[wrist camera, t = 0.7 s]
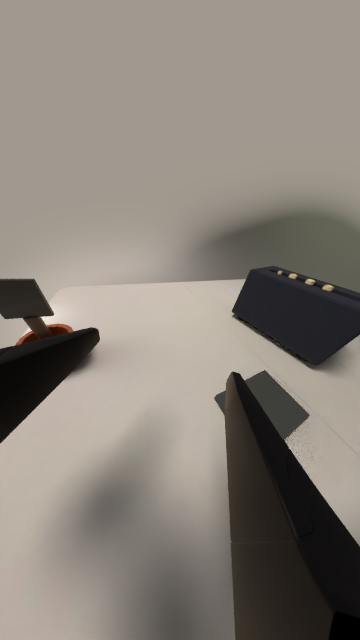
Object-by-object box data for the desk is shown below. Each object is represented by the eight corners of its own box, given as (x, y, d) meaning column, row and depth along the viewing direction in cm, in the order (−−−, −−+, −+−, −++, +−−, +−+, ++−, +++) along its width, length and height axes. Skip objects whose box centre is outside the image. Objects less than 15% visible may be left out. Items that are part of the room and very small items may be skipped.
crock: (54, 384, 20) (33, 363, 16) (27, 366, 21) (3, 343, 18) (92, 353, 25) (82, 332, 21) (68, 341, 26) (55, 319, 23)
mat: (254, 465, 16) (258, 464, 15) (214, 398, 21) (216, 395, 21) (305, 417, 21) (309, 415, 20) (262, 372, 26) (264, 370, 25)
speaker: (324, 347, 35) (386, 296, 25) (311, 370, 28) (389, 313, 19) (250, 306, 47) (274, 262, 38) (229, 315, 41) (251, 265, 31)
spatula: (76, 359, 23) (29, 282, 14) (41, 364, 21) (-35, 282, 13) (78, 352, 24) (36, 276, 15) (45, 357, 22) (-22, 276, 14)
